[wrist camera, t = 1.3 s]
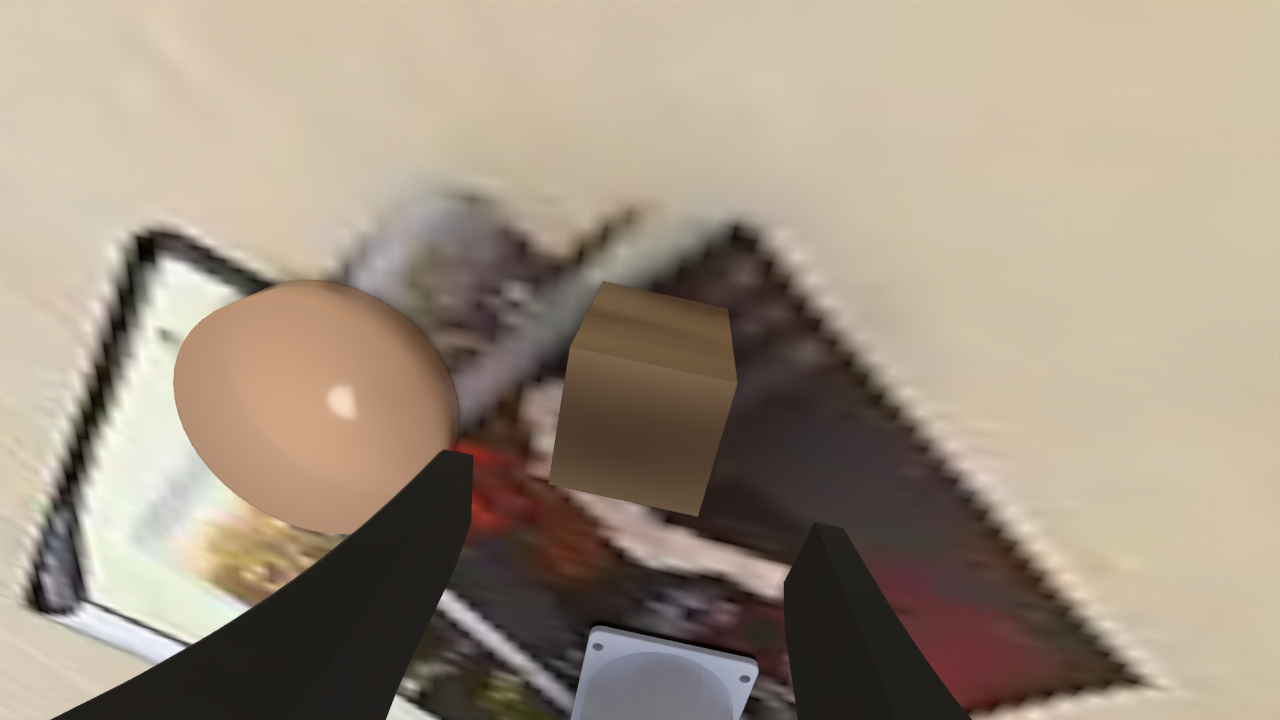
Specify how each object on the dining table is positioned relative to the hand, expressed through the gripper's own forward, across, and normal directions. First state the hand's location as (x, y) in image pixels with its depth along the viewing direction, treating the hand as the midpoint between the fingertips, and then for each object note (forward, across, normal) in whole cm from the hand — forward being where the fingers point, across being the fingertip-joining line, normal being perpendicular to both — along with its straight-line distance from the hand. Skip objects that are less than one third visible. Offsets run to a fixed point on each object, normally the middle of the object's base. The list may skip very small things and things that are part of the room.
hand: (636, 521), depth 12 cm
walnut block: (+10, 0, +2) cm, 10 cm away
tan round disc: (+10, +12, +7) cm, 17 cm away
